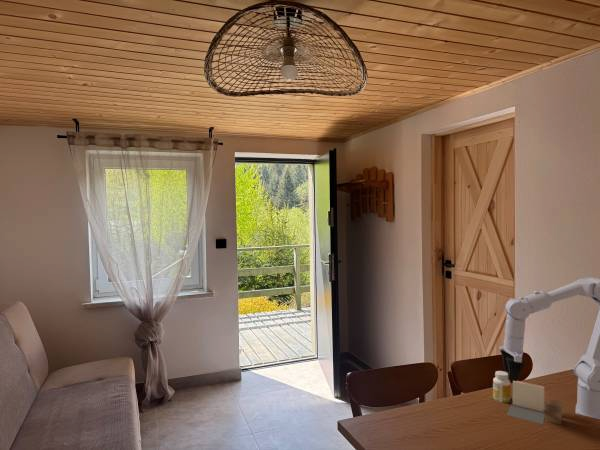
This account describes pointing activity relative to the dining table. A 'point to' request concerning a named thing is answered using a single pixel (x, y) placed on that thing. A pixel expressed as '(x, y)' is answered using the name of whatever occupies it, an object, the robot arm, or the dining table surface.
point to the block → (553, 412)
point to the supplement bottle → (501, 387)
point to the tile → (528, 395)
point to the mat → (526, 413)
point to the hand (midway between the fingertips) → (510, 375)
